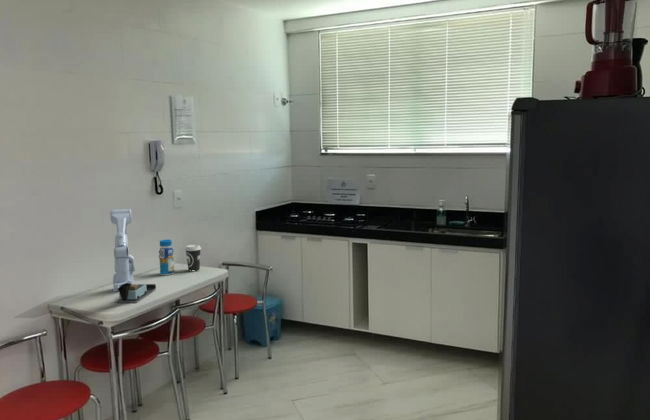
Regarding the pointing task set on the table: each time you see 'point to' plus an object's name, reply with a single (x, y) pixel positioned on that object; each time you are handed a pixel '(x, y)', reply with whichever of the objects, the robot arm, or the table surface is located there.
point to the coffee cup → (193, 257)
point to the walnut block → (133, 287)
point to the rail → (149, 290)
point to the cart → (136, 292)
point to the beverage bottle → (166, 257)
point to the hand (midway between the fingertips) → (124, 299)
